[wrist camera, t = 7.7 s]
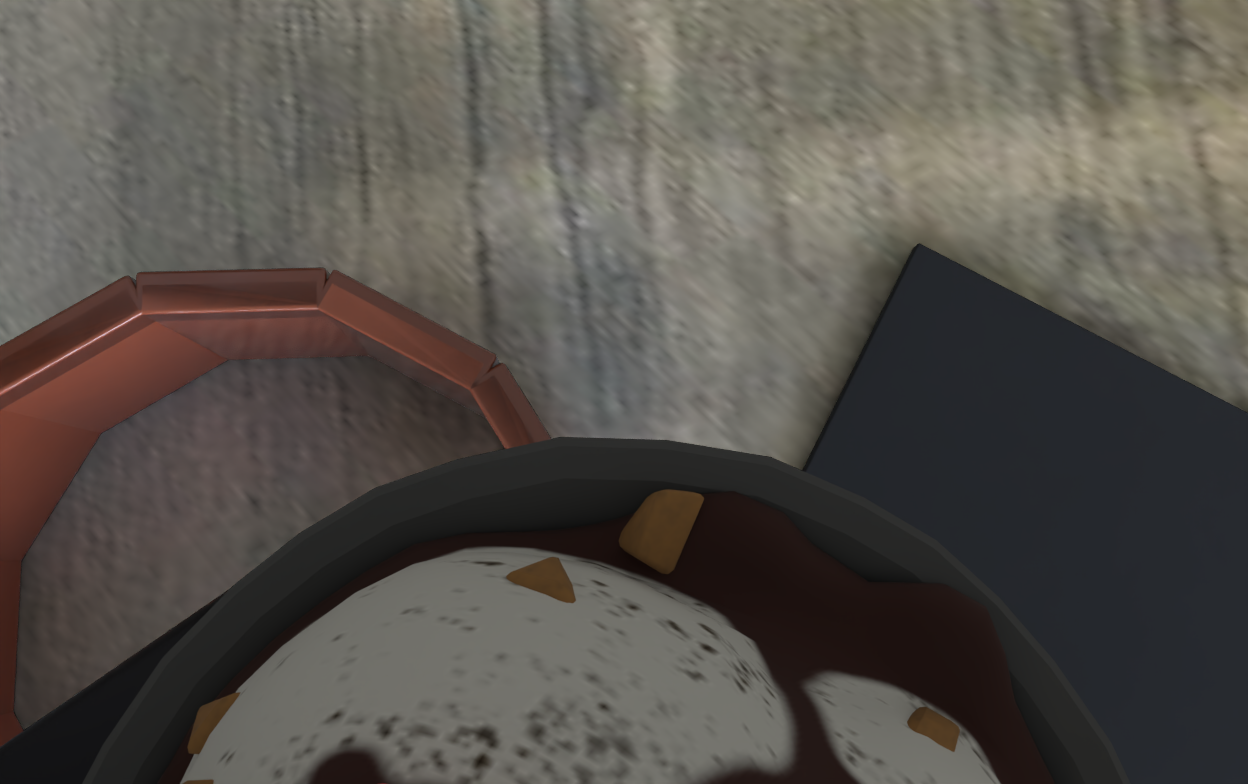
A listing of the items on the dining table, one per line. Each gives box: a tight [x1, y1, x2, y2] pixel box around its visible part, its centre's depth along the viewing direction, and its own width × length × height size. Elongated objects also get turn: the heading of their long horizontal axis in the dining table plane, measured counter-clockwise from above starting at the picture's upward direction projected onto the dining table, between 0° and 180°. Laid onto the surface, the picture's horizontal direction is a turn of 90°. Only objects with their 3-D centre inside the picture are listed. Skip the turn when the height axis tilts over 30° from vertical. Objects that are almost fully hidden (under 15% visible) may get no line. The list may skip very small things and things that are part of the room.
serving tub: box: [0, 267, 551, 747], centre depth 19 cm, size 13×13×4 cm
